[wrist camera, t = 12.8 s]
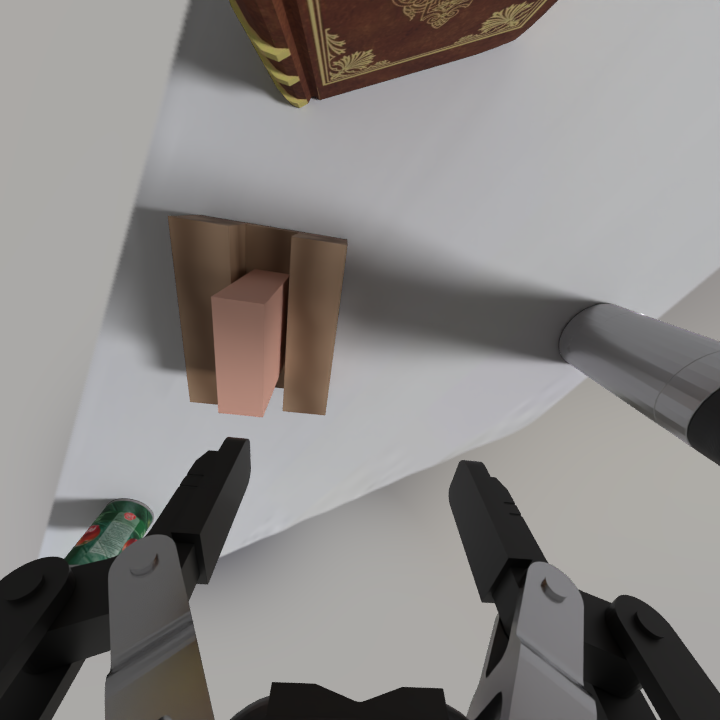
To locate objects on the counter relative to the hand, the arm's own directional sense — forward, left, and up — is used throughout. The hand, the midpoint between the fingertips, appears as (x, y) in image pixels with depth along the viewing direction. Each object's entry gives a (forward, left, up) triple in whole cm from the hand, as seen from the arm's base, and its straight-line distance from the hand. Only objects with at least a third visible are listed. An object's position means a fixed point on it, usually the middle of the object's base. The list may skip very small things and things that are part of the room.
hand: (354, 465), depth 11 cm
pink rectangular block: (+9, +4, -26) cm, 28 cm away
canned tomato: (+33, +45, -28) cm, 63 cm away
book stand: (+9, +4, -28) cm, 30 cm away
